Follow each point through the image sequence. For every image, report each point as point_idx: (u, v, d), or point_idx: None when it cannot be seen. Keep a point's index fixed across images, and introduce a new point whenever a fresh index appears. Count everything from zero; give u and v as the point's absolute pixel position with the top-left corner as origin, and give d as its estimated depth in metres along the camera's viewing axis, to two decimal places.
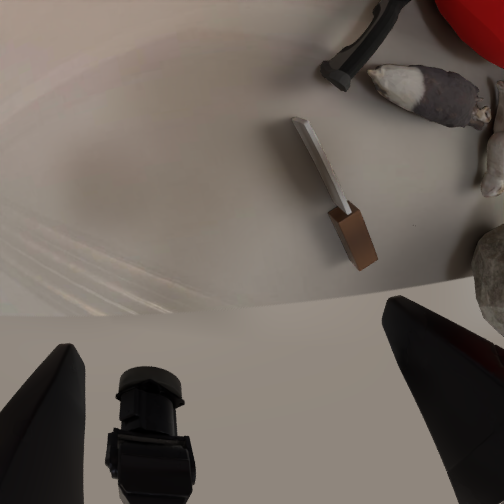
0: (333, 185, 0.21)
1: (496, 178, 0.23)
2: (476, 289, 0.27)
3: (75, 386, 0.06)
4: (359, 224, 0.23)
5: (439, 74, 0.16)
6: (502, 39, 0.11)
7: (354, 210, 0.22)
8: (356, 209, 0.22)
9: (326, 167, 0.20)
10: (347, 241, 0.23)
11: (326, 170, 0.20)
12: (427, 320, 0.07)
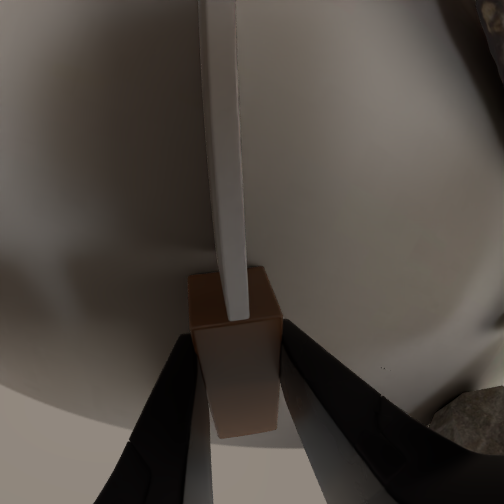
0: (215, 181, 0.04)
1: None
2: None
3: (202, 378, 0.07)
4: (262, 354, 0.07)
5: None
6: None
7: (266, 309, 0.07)
8: (273, 308, 0.07)
9: (212, 74, 0.03)
10: (206, 382, 0.07)
11: (209, 96, 0.04)
12: (302, 353, 0.06)
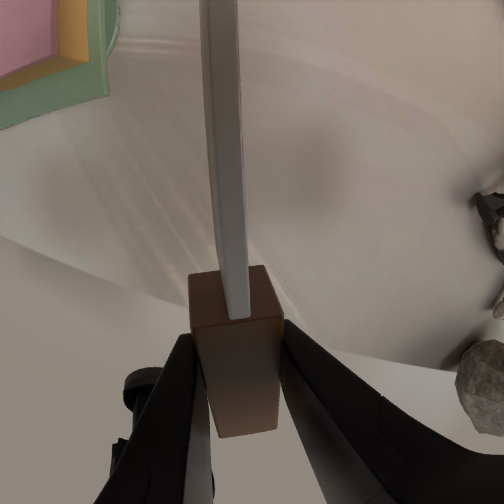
0: (216, 178, 0.04)
1: None
2: (462, 381, 0.33)
3: (202, 378, 0.07)
4: (263, 353, 0.07)
5: None
6: None
7: (267, 308, 0.07)
8: (274, 307, 0.07)
9: (213, 71, 0.03)
10: (206, 381, 0.07)
11: (210, 93, 0.04)
12: (302, 354, 0.06)
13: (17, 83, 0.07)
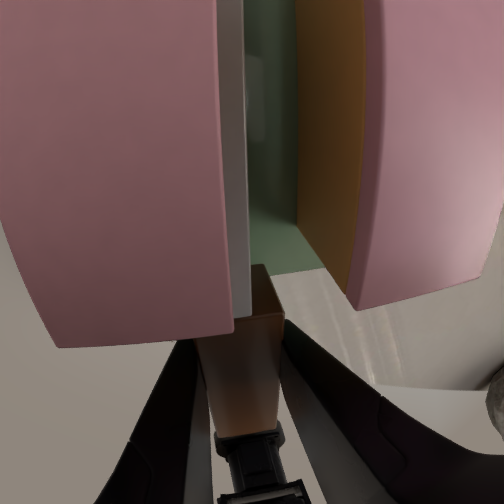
0: None
1: None
2: (495, 401, 0.34)
3: None
4: (263, 352, 0.07)
5: None
6: None
7: (268, 307, 0.07)
8: (275, 306, 0.07)
9: (218, 67, 0.03)
10: (206, 381, 0.07)
11: None
12: (302, 354, 0.06)
13: None
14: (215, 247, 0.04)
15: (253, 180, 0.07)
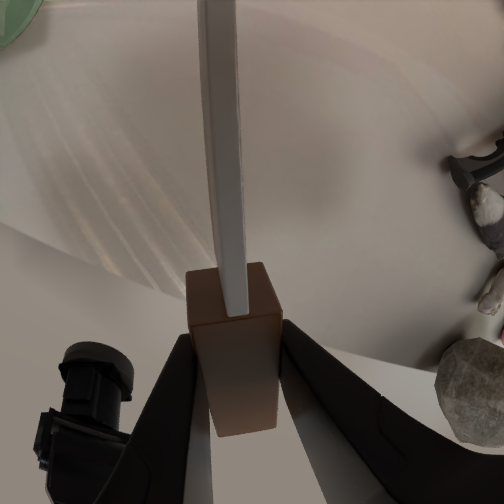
0: (213, 173, 0.04)
1: (494, 301, 0.28)
2: (442, 382, 0.31)
3: (202, 378, 0.07)
4: (262, 351, 0.07)
5: None
6: None
7: (266, 305, 0.07)
8: (273, 304, 0.07)
9: (211, 65, 0.03)
10: (204, 380, 0.07)
11: (207, 86, 0.04)
12: (302, 353, 0.06)
13: None
14: None
15: None
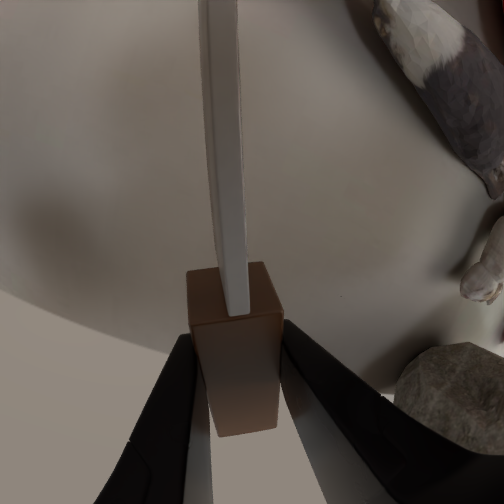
0: (215, 172, 0.04)
1: (491, 276, 0.15)
2: None
3: (202, 378, 0.07)
4: (263, 351, 0.07)
5: (490, 52, 0.07)
6: None
7: (267, 304, 0.07)
8: (274, 304, 0.07)
9: (212, 62, 0.03)
10: (205, 380, 0.07)
11: (209, 84, 0.04)
12: (302, 354, 0.06)
13: None
14: None
15: None
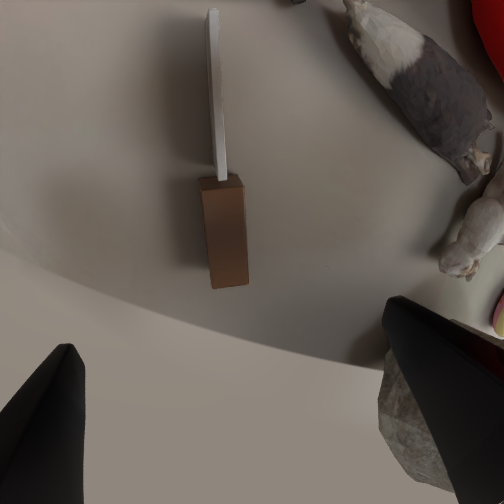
0: (213, 121, 0.12)
1: (466, 253, 0.18)
2: (382, 388, 0.21)
3: (75, 386, 0.06)
4: (235, 210, 0.14)
5: (448, 56, 0.10)
6: None
7: (236, 184, 0.14)
8: (240, 184, 0.14)
9: (213, 84, 0.11)
10: (206, 229, 0.15)
11: (212, 91, 0.11)
12: (427, 320, 0.07)
13: None
14: None
15: None
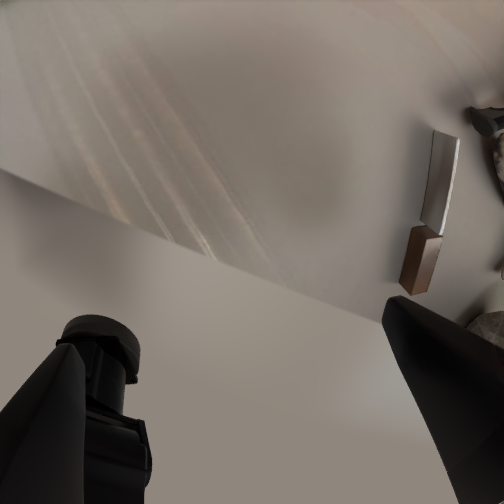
0: (444, 202, 0.19)
1: None
2: None
3: (75, 386, 0.06)
4: (436, 249, 0.22)
5: None
6: None
7: (439, 235, 0.21)
8: (440, 235, 0.21)
9: (450, 183, 0.18)
10: (421, 260, 0.22)
11: (447, 186, 0.19)
12: (427, 320, 0.07)
13: None
14: None
15: None
